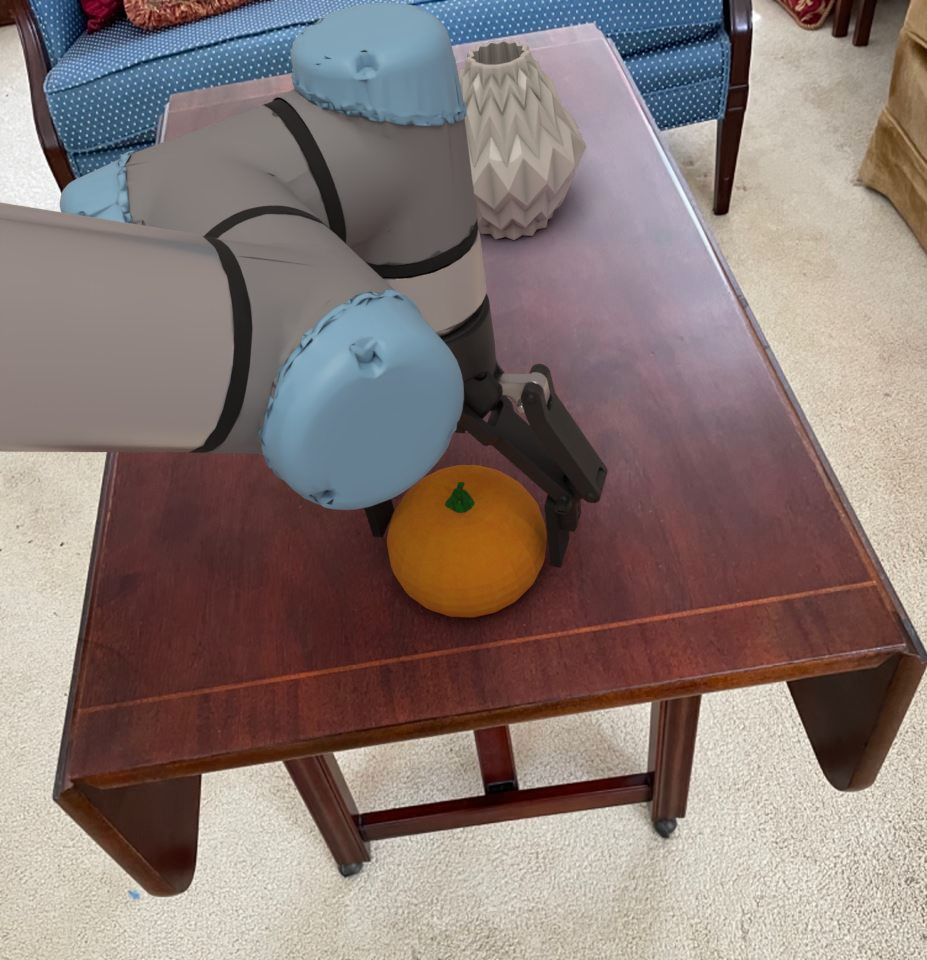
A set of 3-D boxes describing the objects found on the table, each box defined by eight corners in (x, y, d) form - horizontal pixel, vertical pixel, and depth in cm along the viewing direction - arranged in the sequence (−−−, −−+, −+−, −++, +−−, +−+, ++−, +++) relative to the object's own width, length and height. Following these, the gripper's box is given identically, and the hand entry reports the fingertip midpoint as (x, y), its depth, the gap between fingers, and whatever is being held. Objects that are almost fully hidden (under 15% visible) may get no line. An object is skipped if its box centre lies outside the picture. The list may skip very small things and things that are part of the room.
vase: (603, 188, 107) (601, 20, 93) (560, 270, 97) (550, 96, 84) (471, 176, 112) (451, 15, 99) (417, 253, 102) (387, 86, 89)
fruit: (515, 495, 76) (504, 404, 69) (575, 602, 69) (569, 513, 61) (378, 543, 75) (352, 456, 67) (424, 659, 67) (400, 574, 60)
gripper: (654, 279, 52) (649, 523, 68) (257, 250, 59) (334, 477, 75) (629, 367, 47) (629, 608, 63) (202, 324, 55) (296, 550, 70)
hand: (469, 537), depth 69 cm, fingers open, 13 cm apart
